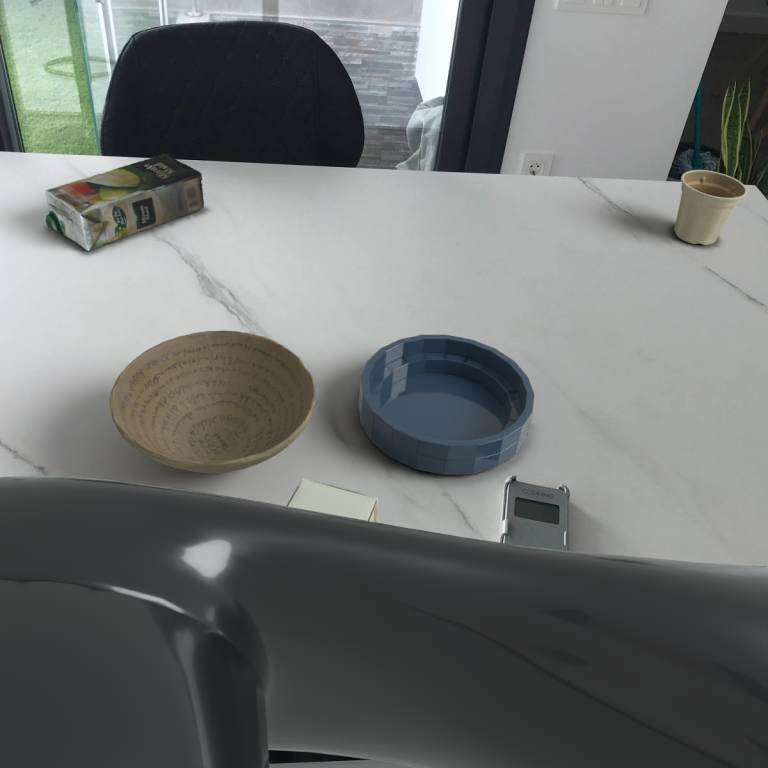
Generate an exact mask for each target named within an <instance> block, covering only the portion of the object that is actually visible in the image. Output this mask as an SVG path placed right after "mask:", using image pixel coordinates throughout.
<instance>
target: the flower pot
mask: <svg viewBox="0 0 768 768" xmlns="http://www.w3.org/2000/svg"><path fill="white" fill-rule="evenodd" d="M680 182H681V195H680V200H679V205H678V209H677V210H678V211H677V215H676V219H675V223H674V227H673V228H674V229H673V230H674V232H675V235H676V237H678V238H679V239H681V240H682V241H684V242H686V243H689V244H693V245H696V244H701V245H702V246H709V245H712V244H714V243H715V242H716V241H717V239H718V238H719V236H720V233H721V232H722V230H723V228H724V226H726V225H725V224H727V221H728V220H729V218H730V216H731V214H732V213H733V211H734V209H735V207H736V206H737V205H739V204H740V202H741V200H742V199H744V198H745V197H746V196H747V195H748V193H749V192H748V188H747V187H746V186H745V184H743V182H742V181H740V180H738V179H736V178H735V177H732V176H730V175H727V174H724V173H721V172H716V171H713V170H705V169H694V170H693V169H692V170H688V171H686V172H684V173H683V174H681V177H680Z"/></svg>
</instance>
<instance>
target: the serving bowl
mask: <svg viewBox="0 0 768 768" xmlns="http://www.w3.org/2000/svg"><path fill="white" fill-rule="evenodd" d="M358 399H359V400H358V412H359V420H360V425H361V426H362V428H363V430H364V432H365V433H366V435H367V437H368V438H369V440H370V442H371V443H372V444H374V445H375V446H376V447H377V448H378V449H380V451H381V452H383V453H384V454H385V455H386V456H388V457H389V458H391V459H393V460H396V461H397V462H400V463H402V464H404V465H406V466H408V467H411V468H412V469H415V470H418V471H425V472H429V473H434V474H439V475H446V476H448V475H449V476H450V475H473V474H476V473H480V472H484V471H488V470H491V469H494V468H497V467H499V466H500V465H502V464H503V463H505V462H507V461H508V460H510V459H512V458H513V457H514V456H515V455H516V454H517V452H518V451H519V450H520V448H521V446H522V445H523V444H524V443H525V441H526V438H527V434H528V431H529V428H530V423H531V419H532V416H533V412H534V404H535V391H534V389H533V387H532V384H531V381H530V378H529V376H528V374H526V373H525V371H524V370H523V369H522V368H521V367H520V366H519V365H518V363H517V362H516V361H515V360H514V359H512V358H510V357H509V356H508V355H506V354H504V353H503V352H501V351H500V350H498V349H497V348H495V347H493V346H491V345H487V344H485V343H482V342H479V341H477V340H474V339H471V338H467V337H462V336H456V335H452V334H451V335H450V334H418V335H413V336H409V337H404V338H399V339H397V340H395V341H393V342H391V343H389V344H387V345H384V346H383V347H380V348H379V349H378V350H377V351H376V352H375V353H373V355H372V356H371V357H370V358H369V359H368V360H367V361H366V363H365V366H364V368H363V370H362V373H361V375H360V383H359V396H358Z"/></svg>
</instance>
